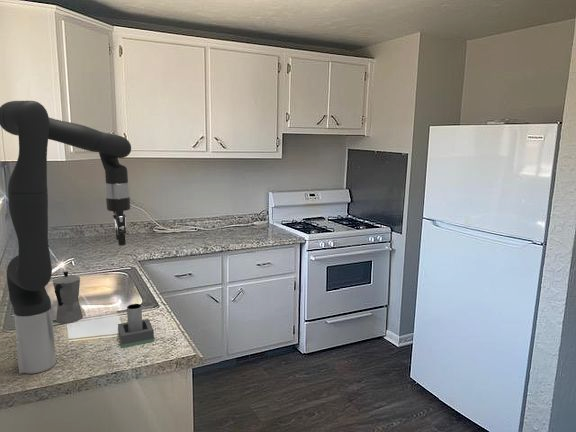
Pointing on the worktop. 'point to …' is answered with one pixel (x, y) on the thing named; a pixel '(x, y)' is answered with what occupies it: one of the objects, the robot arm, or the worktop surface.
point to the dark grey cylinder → (134, 318)
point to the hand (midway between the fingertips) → (120, 242)
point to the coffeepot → (67, 298)
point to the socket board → (135, 334)
